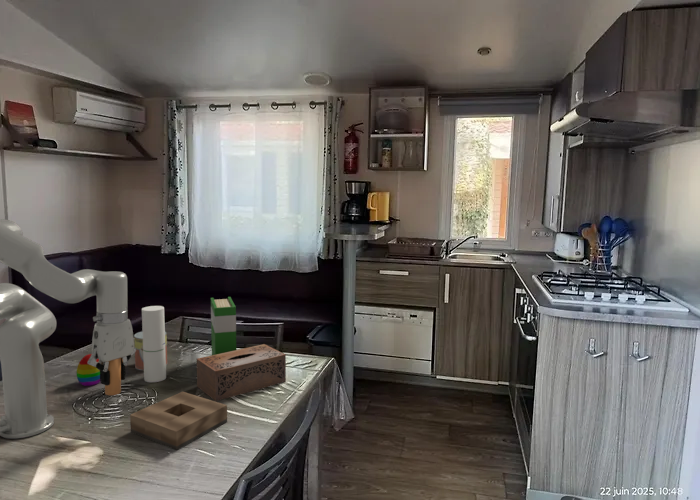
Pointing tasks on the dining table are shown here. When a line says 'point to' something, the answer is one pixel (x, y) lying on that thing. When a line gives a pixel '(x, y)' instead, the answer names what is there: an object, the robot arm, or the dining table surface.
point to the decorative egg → (87, 372)
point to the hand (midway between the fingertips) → (112, 380)
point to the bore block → (178, 419)
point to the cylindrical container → (154, 343)
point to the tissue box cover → (240, 371)
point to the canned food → (139, 350)
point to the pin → (114, 378)
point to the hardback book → (223, 325)
